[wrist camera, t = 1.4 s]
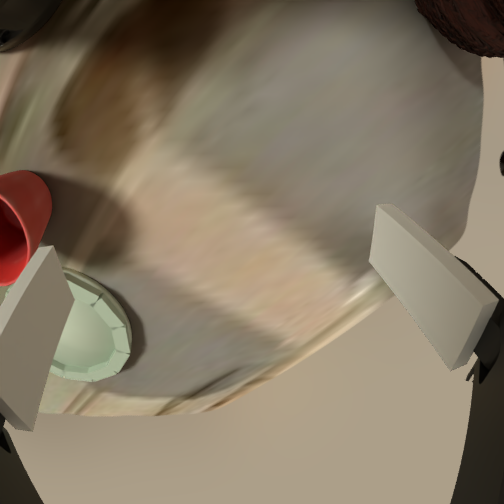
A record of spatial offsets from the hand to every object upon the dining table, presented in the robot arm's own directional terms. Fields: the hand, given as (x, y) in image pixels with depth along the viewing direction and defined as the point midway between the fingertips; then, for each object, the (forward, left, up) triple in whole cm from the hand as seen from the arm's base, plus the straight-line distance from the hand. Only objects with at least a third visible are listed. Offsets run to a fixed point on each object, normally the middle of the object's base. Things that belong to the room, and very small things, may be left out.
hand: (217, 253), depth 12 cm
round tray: (-4, -31, -22) cm, 38 cm away
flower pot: (-15, -16, -22) cm, 31 cm away
